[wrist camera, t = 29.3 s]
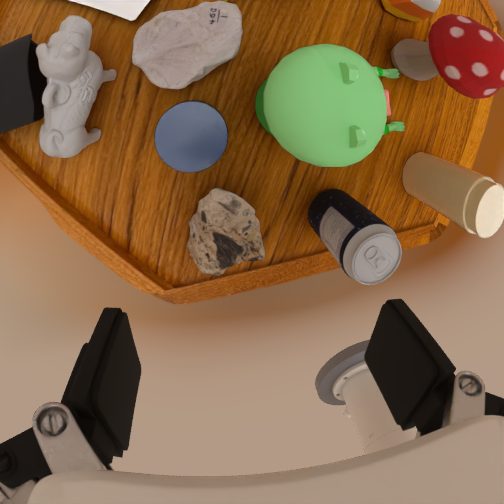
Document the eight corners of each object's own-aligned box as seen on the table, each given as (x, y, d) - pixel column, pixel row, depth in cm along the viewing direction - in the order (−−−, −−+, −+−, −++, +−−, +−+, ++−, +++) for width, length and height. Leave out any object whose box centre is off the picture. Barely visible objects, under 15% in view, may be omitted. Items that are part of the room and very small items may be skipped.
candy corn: (376, 10, 22) (416, -7, 15) (376, -9, 21) (413, -28, 14) (416, 26, 23) (459, 17, 16) (416, 8, 22) (456, -4, 15)
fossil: (116, 34, 19) (204, -29, 15) (154, 37, 25) (231, -11, 20) (152, 105, 23) (250, 47, 18) (186, 98, 28) (269, 55, 23)
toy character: (393, 137, 31) (474, 160, 20) (250, 158, 29) (291, 189, 18) (385, 61, 26) (468, 56, 15) (233, 67, 25) (266, 35, 13)
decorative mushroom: (381, 92, 27) (479, 98, 14) (370, 23, 23) (460, -6, 10) (443, 95, 28) (535, 111, 14) (434, 34, 23) (524, 27, 10)
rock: (267, 276, 35) (295, 236, 26) (212, 304, 32) (223, 271, 23) (230, 216, 37) (245, 164, 28) (177, 238, 34) (177, 187, 26)
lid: (228, 101, 26) (229, 100, 24) (226, 169, 29) (227, 172, 28) (157, 102, 25) (153, 102, 24) (158, 170, 28) (154, 174, 27)
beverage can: (327, 241, 35) (370, 299, 25) (295, 212, 33) (334, 265, 23) (359, 208, 34) (415, 255, 23) (330, 176, 32) (384, 214, 21)
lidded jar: (432, 199, 34) (498, 241, 23) (398, 195, 34) (466, 240, 22) (440, 156, 32) (513, 186, 20) (406, 148, 31) (482, 177, 19)
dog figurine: (129, 36, 22) (91, 7, 12) (101, 152, 27) (53, 175, 18) (85, 35, 20) (35, 12, 11) (60, 146, 26) (4, 167, 16)
